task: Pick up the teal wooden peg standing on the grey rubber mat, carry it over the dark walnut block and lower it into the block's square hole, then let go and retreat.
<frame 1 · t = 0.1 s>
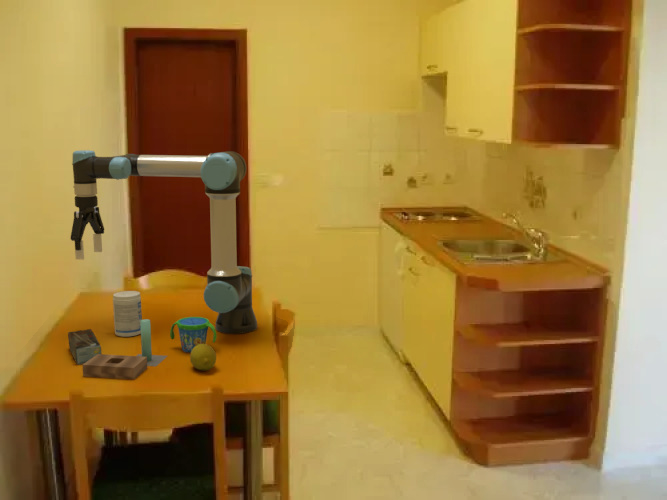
hand: (89, 255, 262), 28 cm above the table, tool pointing down, fingers open, 13 cm apart
lemon: (203, 369, 230), on the table
beverage carton: (85, 356, 242), on the table
block: (115, 373, 225), on the table
mat: (147, 361, 236), on the table
peg: (146, 360, 236), resting on mat
snack cup: (193, 350, 247), on the table
supplement tub: (128, 334, 265), on the table
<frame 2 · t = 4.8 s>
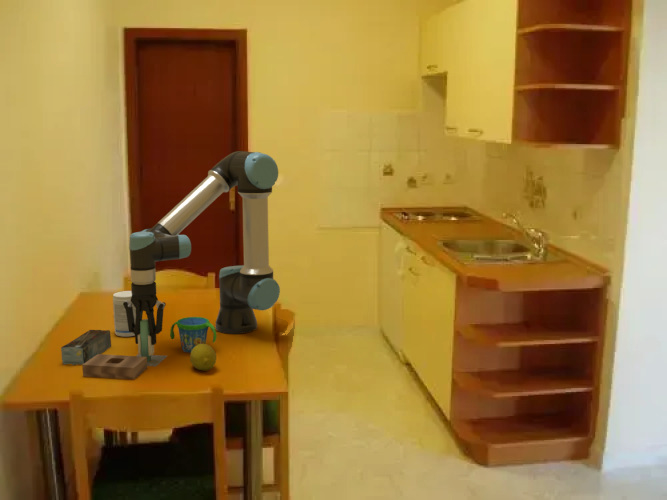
hand: (146, 353, 236), 2 cm above the table, tool pointing down, fingers closed on peg, 3 cm apart
peg: (146, 360, 236), resting on mat, touching gripper
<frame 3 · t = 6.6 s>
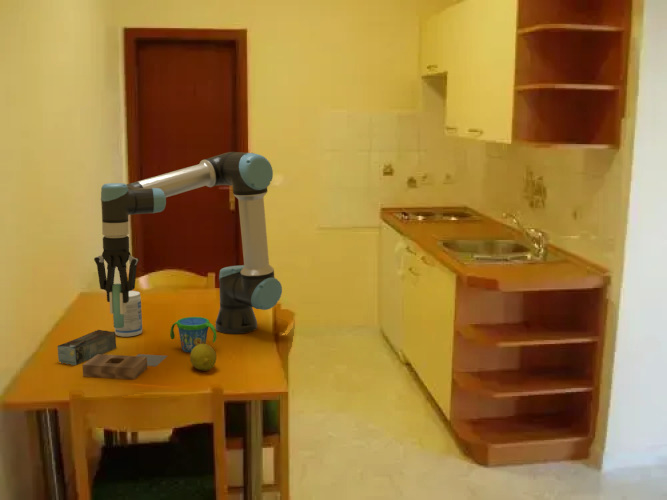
hand: (118, 312, 224), 18 cm above the table, tool pointing down, fingers closed on peg, 2 cm apart
peg: (118, 326, 225), point 14 cm above the table, touching gripper
when the fingers open (5 cm above the table, at t = 8.8 s): peg stays where it is, resting in block.
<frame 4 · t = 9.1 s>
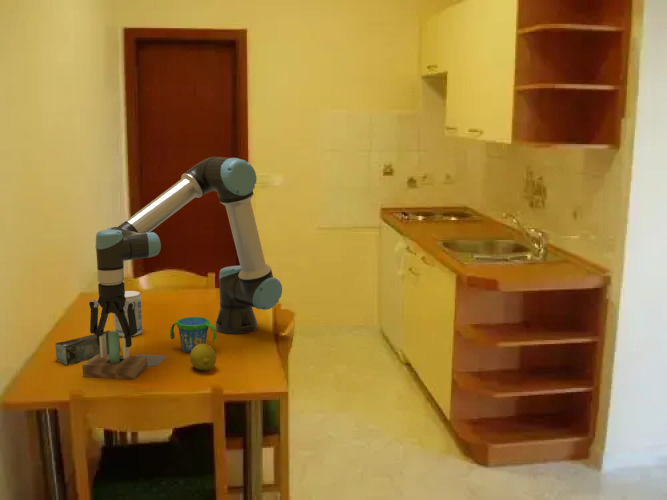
hand: (114, 356, 224), 5 cm above the table, tool pointing down, fingers open, 7 cm apart
peg: (115, 373, 225), resting in block
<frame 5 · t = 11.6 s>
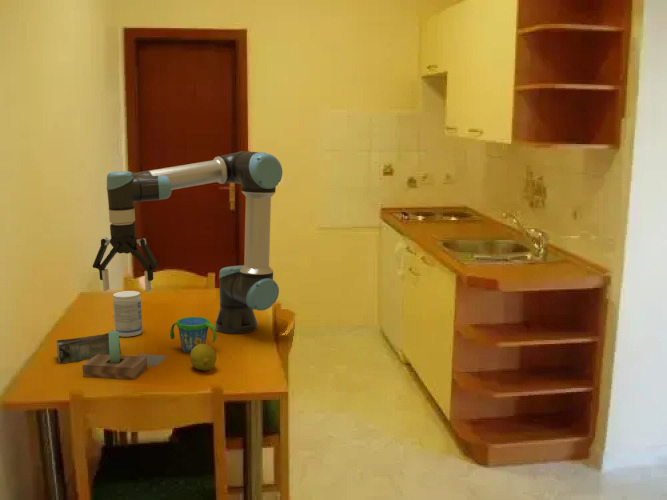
hand: (127, 290, 230), 24 cm above the table, tool pointing down, fingers open, 13 cm apart
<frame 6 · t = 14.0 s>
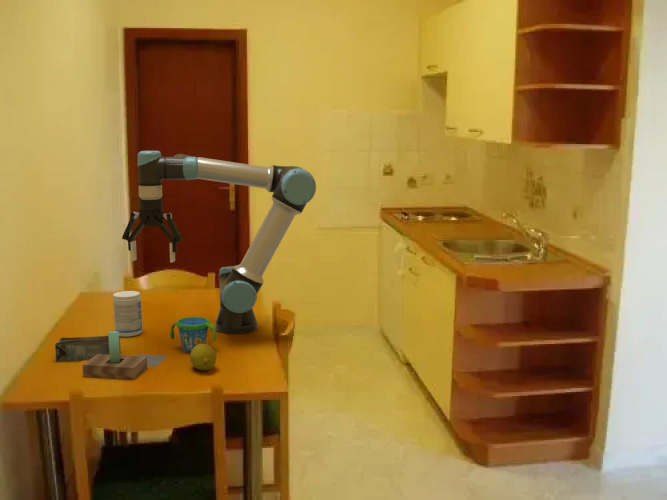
hand: (153, 261, 249), 29 cm above the table, tool pointing down, fingers open, 13 cm apart
at the end: peg 0.0 cm off-centre on the block, point 0.0 cm above the block's base; peg tilted 0°; the gripper is holding nothing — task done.
